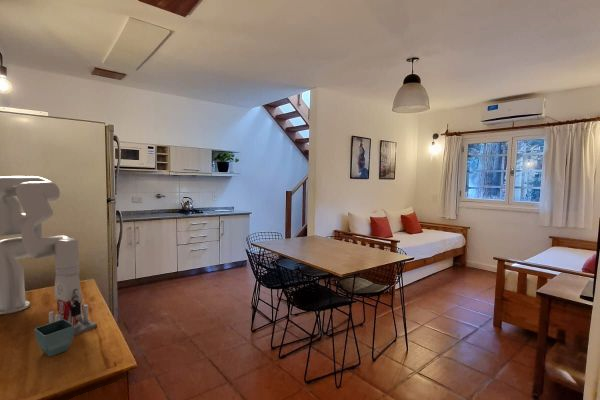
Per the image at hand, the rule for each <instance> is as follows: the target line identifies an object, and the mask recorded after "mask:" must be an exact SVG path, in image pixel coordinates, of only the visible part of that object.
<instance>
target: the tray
mask: <svg viewBox="0 0 600 400" xmlns="http://www.w3.org/2000/svg"><path fill="white" fill-rule="evenodd" d="M58 320H60V314H59V313H58V314H57V313H56V314H55V311H49V312H48V323H46V324H44V325H47V324H50V323H53V322H56V321H58ZM44 325H41V326H44ZM41 326H39V327H41ZM96 327H98V323H97V322H94V321H91V320H90V319H89V305H88V304H84V305H83V303H82V302H81V314H80V315H78V323H77V324H76V325H75V326H74V333H73V337H74V336H76V335H77V336H78V335H79V334H82V333H84V332H86V331H90V330H92V329H95V328H96Z"/></svg>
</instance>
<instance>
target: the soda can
mask: <svg viewBox="0 0 600 400" xmlns="http://www.w3.org/2000/svg"><path fill="white" fill-rule="evenodd" d="M74 298H75V297H74ZM75 301H76V300H74V303H75ZM71 307H72V305H71V302H70V301H69V302H65V301H63V300H60V299H59V300H58V310H57V311H58V312H57V313H58V314H60V320H62V319H64V320H66V321H67V322H69V323H71V324H73V325H74V326H75V325H76V324H77V323H78V315H77V316H74V317H72V316H71Z"/></svg>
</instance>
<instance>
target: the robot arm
mask: <svg viewBox="0 0 600 400" xmlns="http://www.w3.org/2000/svg"><path fill="white" fill-rule="evenodd" d="M60 195H61V191H60V188H59V186H58V185H57V184H56V183H55V182H53V181H51V180H49V179H47V178H44V177H41V176H34V175H30V176H29V175H27V176H25V175H11V176H10V175H6V176H5V175H4V176H0V237H11V238H4V239H0V315H8V314H14V313H18V312H20V311H23V310H25V309H27V308H29V307H30V305H31V302H30V301H28V300H26V290H25V286H26V285H25V270H24V268H25V267H24V266H23V265H22V264H21V263H20V262H18V261H17V260H20V259H24V258H28V257H29V258H32V259H37V260H38V259H43V258H47V257H52V256H54V264H55V265H54V266H55V276H54V297H55V298H56V306H57V307H56V309H57V311H58V300H59V299H60V300H63V301H65V302H69V301H70V302H71V305H72V307H71V316H72V317H74V316H77V315H80V314H81V303H82V301H83V297H84V296H83V294H82V293H81V292H82V291H81V290H82V289H81V280H80V275H79V274H80V247H79V243H80V242H79V241H78V239H77V238H74V237H69V236H67V235H64V234H63V235H55V236H47V237H43V226H42V225H43V222H46V221H47V220H49V219H51V217H53V215H54V210H53V209H52V206H51V204H50V202H53V201H57V200H58V199H59V197H60ZM16 197H17V198H16ZM21 209H22V210H23V212H22V213H21V211H22V210H21ZM18 235H19V237H18ZM12 236H16V237H12ZM74 297H75V298H74ZM74 300H76V301H75V303H74Z"/></svg>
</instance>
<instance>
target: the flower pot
mask: <svg viewBox="0 0 600 400" xmlns="http://www.w3.org/2000/svg"><path fill="white" fill-rule="evenodd" d="M46 324H47V325H46ZM46 324H44V326H43V325H41V327H40V326H38V327H35V328H34V330H33V331H34V335H35V339H36V343H37V345H38V347H39V349H40V350H41V351H42V352H43V353H44V354H46V355H47V356H48V357H54V356H56V355H59V354H60V353H63V352H66V351H67V350H68V349H69V348H70V346H71V345H72V343H73V339H74V336H73V333H74V325H73V324H71V323H69V322H67V321H66V320H64V319H62V320H58V321H56V322H55V321H54V322H53V323H50V324H49V323H46Z"/></svg>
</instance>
